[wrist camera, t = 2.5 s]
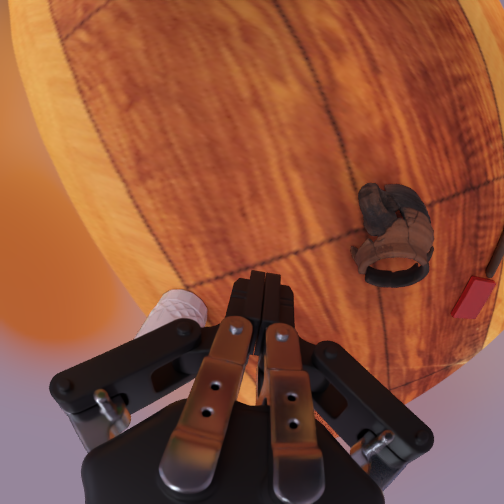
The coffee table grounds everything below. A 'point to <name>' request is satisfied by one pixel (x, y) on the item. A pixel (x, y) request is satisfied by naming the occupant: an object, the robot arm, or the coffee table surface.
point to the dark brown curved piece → (394, 234)
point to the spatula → (479, 288)
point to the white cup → (175, 310)
